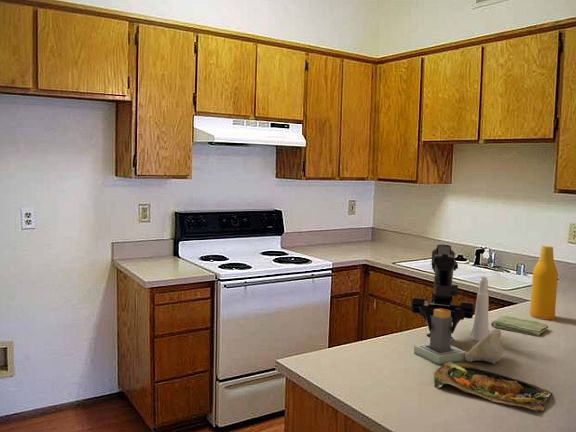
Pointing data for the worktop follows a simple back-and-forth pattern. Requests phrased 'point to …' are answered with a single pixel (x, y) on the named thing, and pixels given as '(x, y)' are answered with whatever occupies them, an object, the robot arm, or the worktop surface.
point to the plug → (441, 330)
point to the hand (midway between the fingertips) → (441, 331)
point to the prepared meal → (492, 386)
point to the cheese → (487, 349)
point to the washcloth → (519, 325)
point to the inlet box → (439, 354)
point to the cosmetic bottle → (481, 312)
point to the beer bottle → (544, 286)
